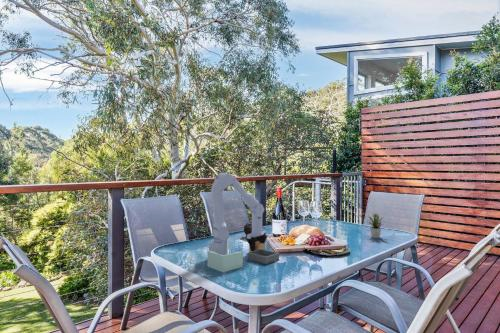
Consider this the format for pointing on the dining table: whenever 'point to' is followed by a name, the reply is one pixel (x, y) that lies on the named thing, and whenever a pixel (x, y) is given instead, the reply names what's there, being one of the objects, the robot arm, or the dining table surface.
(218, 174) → the robot arm
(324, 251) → the food plate
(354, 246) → the dining table surface
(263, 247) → the small crate
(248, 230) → the pine cone
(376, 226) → the house plant
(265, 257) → the big crate
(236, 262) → the l-shaped corner panel
